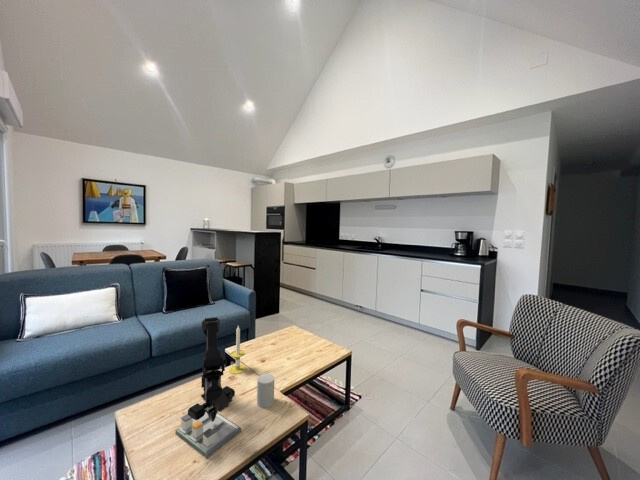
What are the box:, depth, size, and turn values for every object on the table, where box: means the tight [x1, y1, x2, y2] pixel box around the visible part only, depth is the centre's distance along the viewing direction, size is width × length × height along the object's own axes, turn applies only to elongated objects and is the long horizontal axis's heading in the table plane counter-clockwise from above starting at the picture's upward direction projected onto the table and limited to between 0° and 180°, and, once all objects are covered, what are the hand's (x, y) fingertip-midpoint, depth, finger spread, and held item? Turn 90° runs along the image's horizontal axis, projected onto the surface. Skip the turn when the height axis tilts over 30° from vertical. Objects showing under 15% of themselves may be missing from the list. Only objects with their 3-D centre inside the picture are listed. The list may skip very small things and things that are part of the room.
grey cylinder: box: [256, 373, 275, 409], centre depth 129 cm, size 8×8×12 cm
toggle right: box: [203, 428, 215, 447], centre depth 102 cm, size 3×3×4 cm
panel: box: [175, 412, 242, 459], centre depth 110 cm, size 21×16×2 cm
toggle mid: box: [192, 421, 203, 438], centre depth 106 cm, size 3×3×4 cm
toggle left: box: [180, 413, 193, 430], centre depth 110 cm, size 3×3×4 cm
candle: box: [228, 325, 247, 375], centre depth 157 cm, size 10×10×27 cm
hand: (212, 421), depth 112 cm, fingers closed
